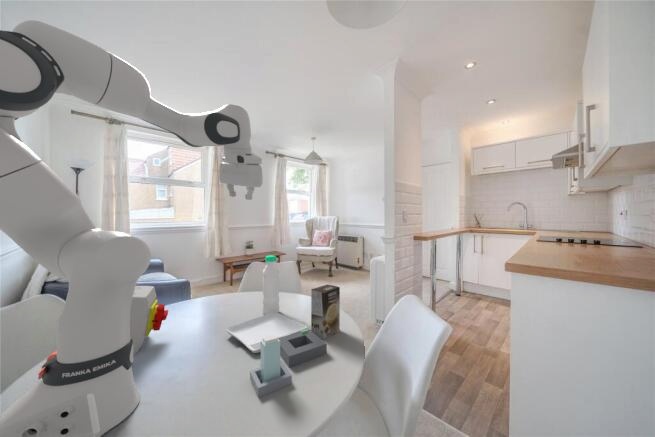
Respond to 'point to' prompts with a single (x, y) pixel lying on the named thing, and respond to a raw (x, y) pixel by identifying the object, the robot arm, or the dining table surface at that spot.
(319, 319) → the coffee box
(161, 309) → the electrical switch box
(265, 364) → the plug
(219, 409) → the dining table surface
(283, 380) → the grey storage bin
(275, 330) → the salad plate
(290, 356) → the block
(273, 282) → the water bottle
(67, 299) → the robot arm
